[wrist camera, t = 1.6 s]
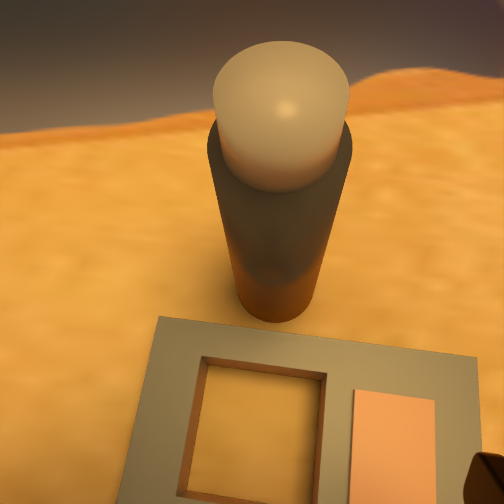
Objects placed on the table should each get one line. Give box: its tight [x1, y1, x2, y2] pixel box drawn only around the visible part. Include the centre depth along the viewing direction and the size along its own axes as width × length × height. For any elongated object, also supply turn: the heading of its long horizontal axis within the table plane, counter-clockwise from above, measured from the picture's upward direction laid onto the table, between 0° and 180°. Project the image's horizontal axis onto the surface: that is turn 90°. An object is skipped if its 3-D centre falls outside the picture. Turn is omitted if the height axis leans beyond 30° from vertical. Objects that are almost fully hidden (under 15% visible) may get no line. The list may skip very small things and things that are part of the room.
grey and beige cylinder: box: [207, 41, 352, 323], centre depth 17 cm, size 4×4×14 cm
